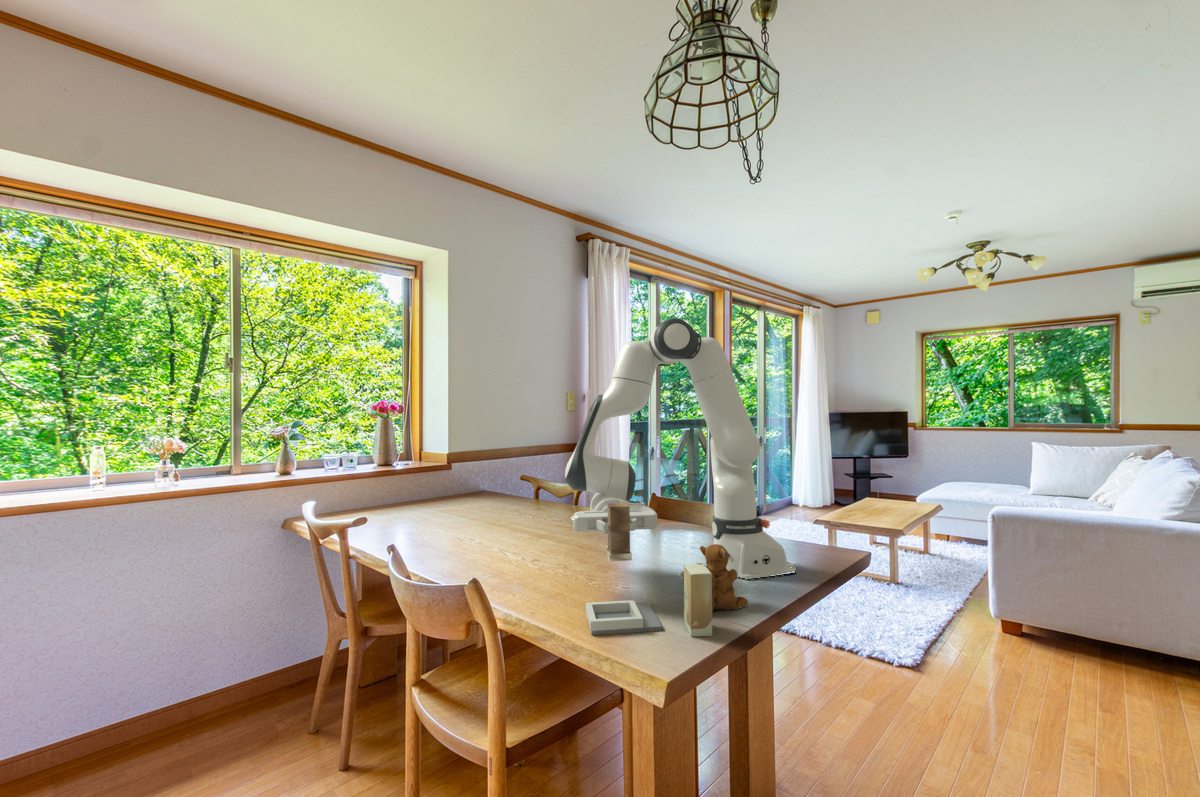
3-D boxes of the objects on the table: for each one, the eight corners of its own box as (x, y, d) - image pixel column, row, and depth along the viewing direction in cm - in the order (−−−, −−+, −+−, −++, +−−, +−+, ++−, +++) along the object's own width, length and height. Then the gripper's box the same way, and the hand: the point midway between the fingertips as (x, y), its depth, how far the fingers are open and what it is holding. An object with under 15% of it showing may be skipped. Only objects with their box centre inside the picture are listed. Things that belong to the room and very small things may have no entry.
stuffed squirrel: (751, 605, 120) (750, 545, 120) (709, 621, 111) (708, 557, 112) (715, 593, 128) (714, 537, 128) (674, 608, 119) (673, 547, 119)
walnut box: (628, 554, 126) (627, 502, 126) (631, 560, 121) (631, 506, 121) (606, 555, 126) (606, 503, 126) (609, 561, 121) (608, 507, 121)
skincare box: (683, 624, 110) (682, 563, 110) (704, 623, 110) (703, 563, 110) (690, 637, 104) (690, 573, 104) (713, 636, 104) (712, 572, 104)
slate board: (647, 604, 121) (647, 593, 121) (662, 630, 107) (661, 617, 107) (584, 608, 119) (584, 596, 119) (590, 635, 105) (590, 621, 105)
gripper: (569, 504, 135) (573, 515, 122) (650, 501, 138) (662, 512, 124) (570, 529, 135) (573, 543, 122) (650, 526, 138) (662, 539, 124)
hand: (619, 527), depth 123 cm, fingers closed on walnut box, 4 cm apart
